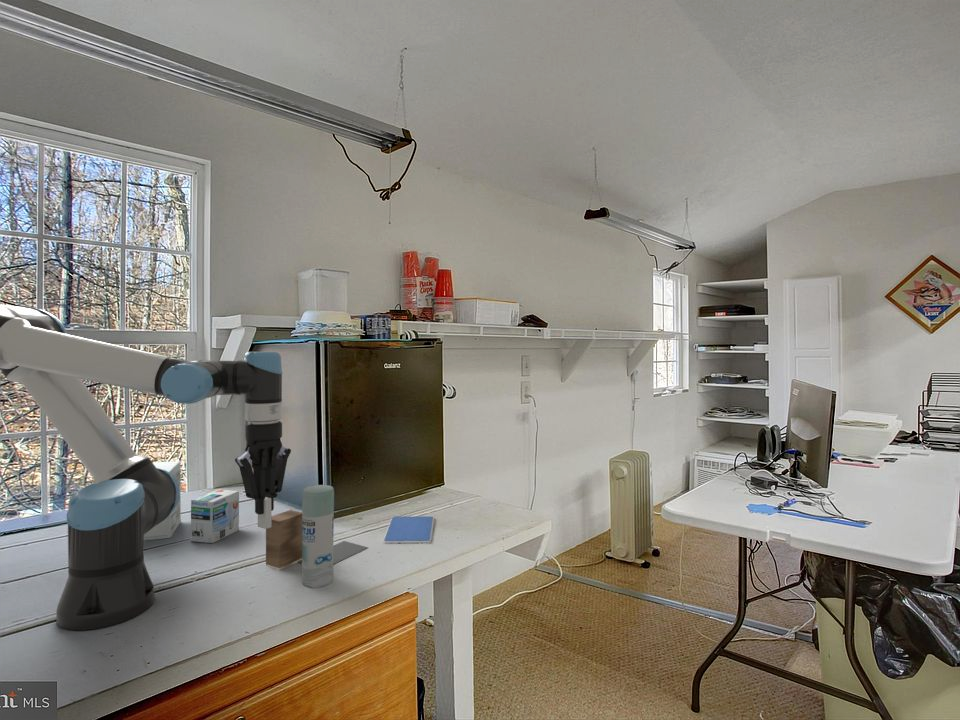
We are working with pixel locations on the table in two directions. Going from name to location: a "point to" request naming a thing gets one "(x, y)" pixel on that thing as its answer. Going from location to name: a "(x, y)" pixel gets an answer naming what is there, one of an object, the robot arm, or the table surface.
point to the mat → (344, 551)
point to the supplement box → (174, 519)
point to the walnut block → (284, 540)
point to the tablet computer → (409, 530)
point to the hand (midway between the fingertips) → (264, 526)
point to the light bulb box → (214, 516)
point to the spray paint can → (317, 535)
